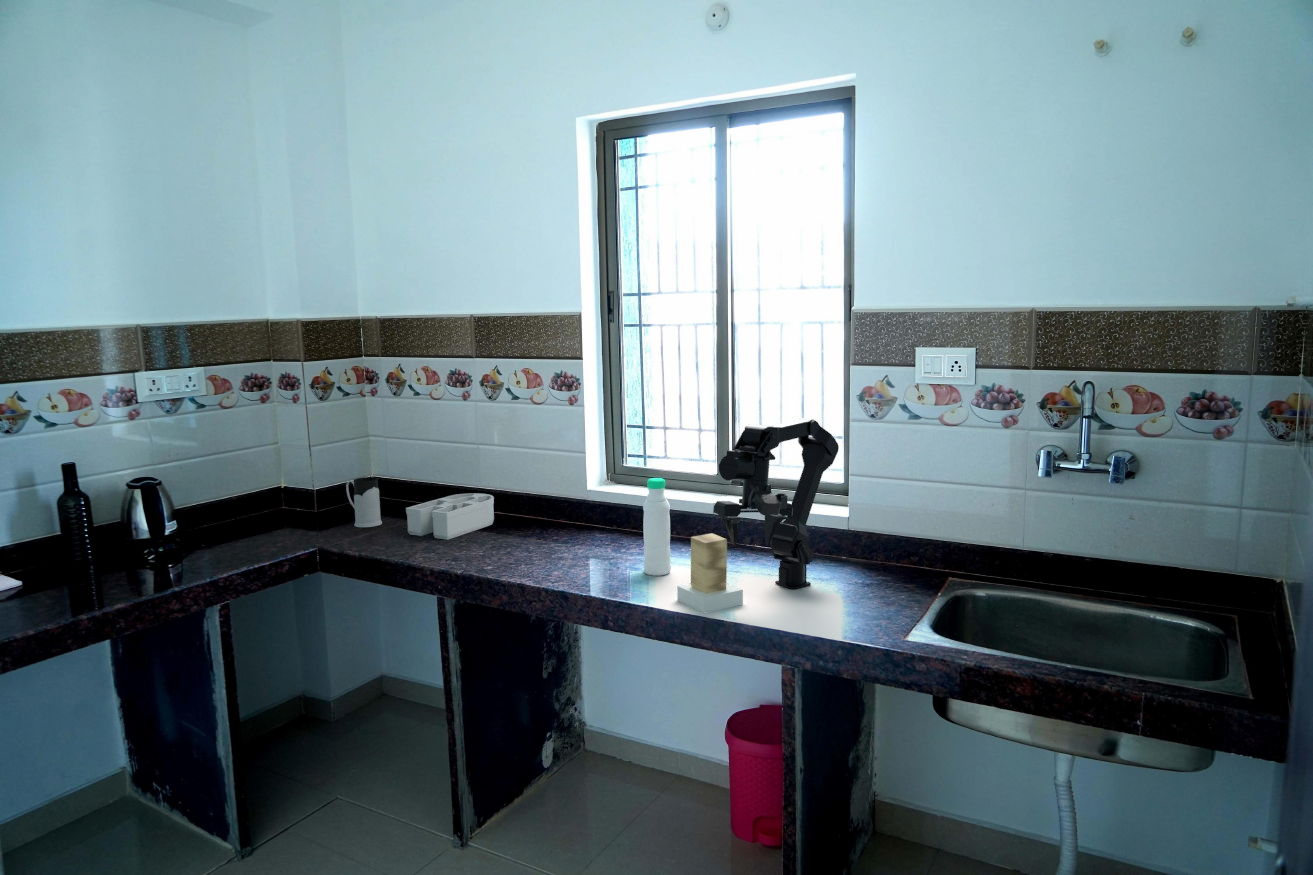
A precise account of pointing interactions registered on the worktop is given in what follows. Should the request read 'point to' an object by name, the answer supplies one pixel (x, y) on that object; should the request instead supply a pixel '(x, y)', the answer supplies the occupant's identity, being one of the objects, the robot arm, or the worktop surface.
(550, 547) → the worktop surface
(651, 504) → the water bottle
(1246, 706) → the worktop surface
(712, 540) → the honey wood block
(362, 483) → the white and grey pitcher
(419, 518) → the white compartment organizer
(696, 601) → the grey base block
